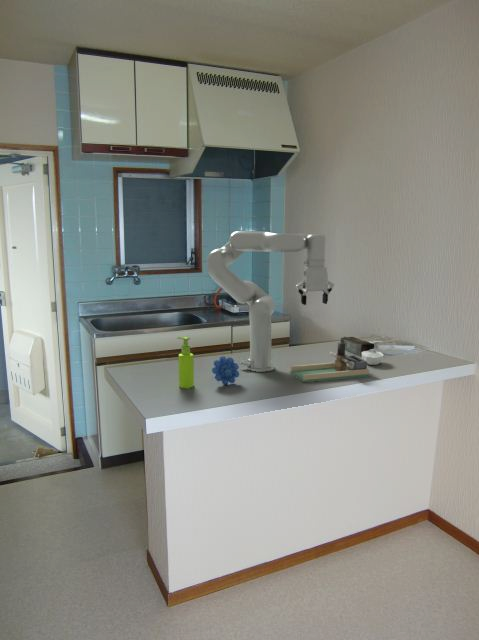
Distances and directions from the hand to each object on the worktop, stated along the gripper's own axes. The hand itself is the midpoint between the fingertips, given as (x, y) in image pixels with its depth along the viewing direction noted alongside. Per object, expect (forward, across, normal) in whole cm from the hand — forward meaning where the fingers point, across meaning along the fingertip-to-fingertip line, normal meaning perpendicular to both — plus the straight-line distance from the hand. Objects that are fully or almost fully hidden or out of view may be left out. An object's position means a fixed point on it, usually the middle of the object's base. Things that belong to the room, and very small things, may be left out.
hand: (314, 303), depth 218 cm
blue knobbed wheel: (+31, -41, -7) cm, 52 cm away
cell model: (+31, +32, +4) cm, 44 cm away
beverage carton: (+31, +37, +27) cm, 55 cm away
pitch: (+30, +5, -6) cm, 31 cm away
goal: (+29, +17, -6) cm, 34 cm away
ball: (+27, +15, -6) cm, 32 cm away
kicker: (+29, +10, -6) cm, 31 cm away
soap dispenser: (+31, -57, -3) cm, 65 cm away
